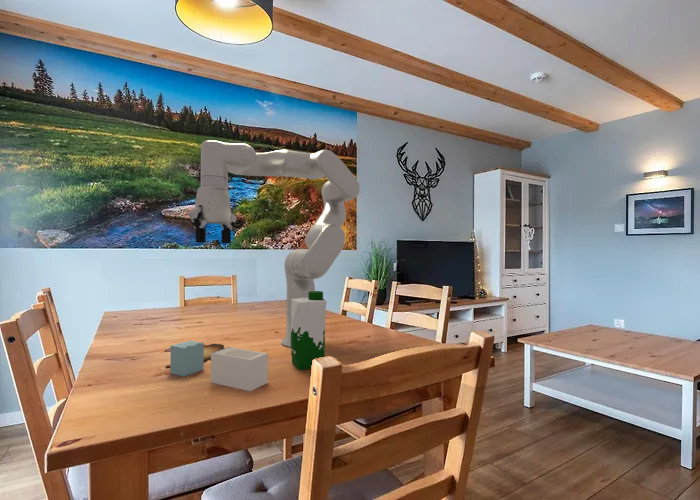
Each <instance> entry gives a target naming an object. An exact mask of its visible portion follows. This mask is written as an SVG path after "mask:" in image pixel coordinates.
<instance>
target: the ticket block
mask: <svg viewBox="0 0 700 500" xmlns="http://www.w3.org/2000/svg"><path fill="white" fill-rule="evenodd" d="M268 355H269V353H268V352H262V351H261V352H260V351H255V350H250V349H249V350H248V349H243V348H239V347H238V348H237V347H231V346H228V347H225V348H224V347H223V348H222V349H221V350H218V351H214V352H212V353H211V360H210V383H212V384H216V385H220V386H224V387H230V388H234V389H238V390H243V391H247V392H252V391H254V390H256V389H258V388H261V387H263V386H264V385H266V384H268V377H269V375H268V369H269V367H268V362H269V357H268Z"/></svg>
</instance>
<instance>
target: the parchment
mask: <svg viewBox="0 0 700 500" xmlns="http://www.w3.org/2000/svg"><path fill="white" fill-rule="evenodd" d="M224 346H225V345H224V344H221V343H210V344H204V363H205V362H208V361H211V353H212V352H214V351H218V350H222V349H223V348H224ZM166 368H169V366H168V365H167V366H166Z"/></svg>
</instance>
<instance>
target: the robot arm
mask: <svg viewBox="0 0 700 500" xmlns="http://www.w3.org/2000/svg"><path fill="white" fill-rule="evenodd" d="M229 173H230V174H232V175H239V176H240V175H241V176H248V177H249V176H250V177H251V176H252V177H285V178H287V177H289V178H298V179H299V178H300V179H310V180H316V179H317V180H318V179H322V178H326V179H327V181H326V182H325V183H324V184H323V185H322V188H321V197H322V200H323V209H322V212H321V214H320V215H319V216H318V218H317V219H316V220H315V222H314V223H313V225H312V226H311V228H310V229H309V230H308V232H307V233H306V236H305V238H304V241H305V242H304V243H305V245H306V247H307V248H308V249H307V248H298V249H293V250H292V251H290V252H289V253H288V254H287V256H286V257H285V260H284V272H285V280H286V313H285V314H286V316H285V317H286V331H285V332H286V334H285V335H286V337H283V338H282V339H281V345H283V346H285V347H287V348H288V347H289V348H291V299H300V298H309V297H308V295H309V292H310V291H316V286H315V280H318V279H320V278H322V277H323V276H325V274H326V273H328V271H329V270H330V268H331V266H332V265H333V264H334V262H335V261H336V259H337V258H338V256H339V255H340V253H341V252H342V250H343V249H344V246H345V243H346V234H345V230H344V229H343V228H342V226H343V225H344V223H345V221H346V219H347V218H346V217H347V214H346V207H345V202H349V201H352V200H354V199H355V198H357V197H358V196H359V195H360V189H361V188H360V183H359V181H358V179H357V177H356V176H355V175H354V174H353V173H352V172H351V170H350V169H349V168H348V167H347V166H346V164H345V163H344V161H342V160H341V158H339V157H338V156H337V155H336V154H335V153H334V152H333V151H331V150H328V149H321V150H319V151H316V152H314V153H313V152H312V153H311V152H303V151H297V150H296V151H295V150H288V149H279V150H278V149H277V150H274V151H269V152H268V151H267V152H262V153H261V152H260V153H259V152H258V153H257V152H256V150H255V149H254V148H253V147H252V145H249V144H247V143H240V142H238V143H233V142H230V143H229V142H224V141H219V140H212V139H211V140H209V139H207V140H204V141H203V142H202V143H201V145H200V186H199V187H198V188H197V191H196V197H195V204H194V208H193V209H191V210H189V211H188V216H189V219H190V222H191V224H192V225H193V229H195V243H196V244H197V243H199V244H200V243H203V244H204V243H206V241H207V240H206V238H207V237H206V235H207V233H206V232H207V231H206V228H205V226H207V224H214V225H215V224H217V225H218V224H219V225H220V226H221V228H222V229H221V236H220V237H221V239H220V240H221V241H220V242H221V243H222V244H231V242H232V232H231V231H232V230H233V228H234V226H235V225H236V224H235V223H236V221H237V216H236V215H235V214H234V213H233V212H232V207H231V205H232V204H231V198H230V191H229V189H228V188H229V186H230V184H229Z"/></svg>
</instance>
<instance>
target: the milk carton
mask: <svg viewBox="0 0 700 500" xmlns="http://www.w3.org/2000/svg"><path fill="white" fill-rule="evenodd" d="M308 297H309V298H300V299H291V347H290V351H291V352H290V353H291V363H292V364H293V365H294V366H295V368H296V369H297V370H298V371H304V370H312V369H311V365H312V360H313V359H315V358H319V357H324V356H325V354H326V311H327V300H326V299H324V292H323V291H321V290H315V291H310V292H309V295H308Z"/></svg>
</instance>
